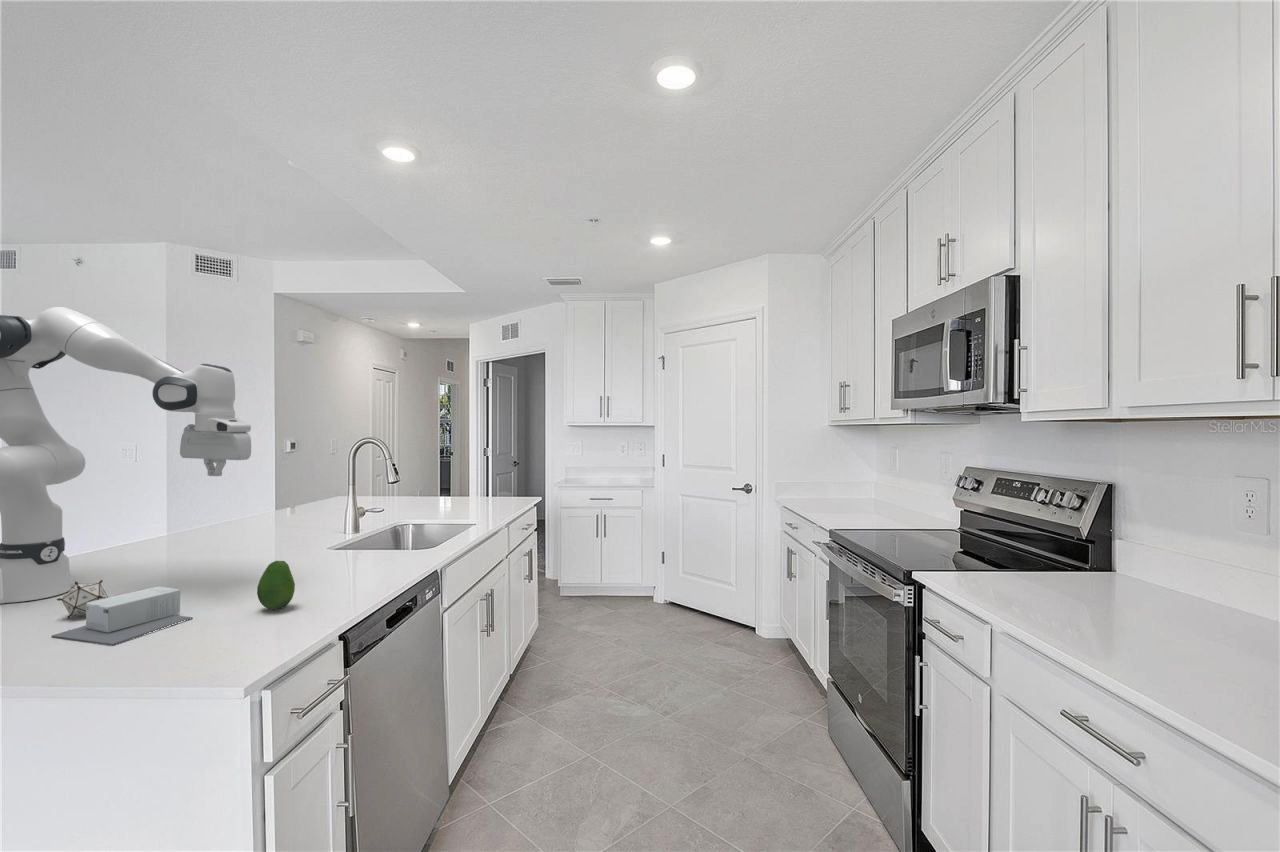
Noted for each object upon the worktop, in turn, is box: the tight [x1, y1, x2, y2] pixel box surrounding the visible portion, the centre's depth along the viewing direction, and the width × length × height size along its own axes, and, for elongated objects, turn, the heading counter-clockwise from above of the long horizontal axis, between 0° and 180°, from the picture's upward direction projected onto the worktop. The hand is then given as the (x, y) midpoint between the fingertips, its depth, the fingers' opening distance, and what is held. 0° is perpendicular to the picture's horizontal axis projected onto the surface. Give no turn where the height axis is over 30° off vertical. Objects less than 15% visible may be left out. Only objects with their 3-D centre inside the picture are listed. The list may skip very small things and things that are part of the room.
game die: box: [56, 579, 109, 619], centre depth 140 cm, size 9×8×10 cm
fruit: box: [256, 560, 296, 611], centre depth 147 cm, size 8×8×12 cm
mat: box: [51, 614, 193, 647], centre depth 133 cm, size 17×17×1 cm
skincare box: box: [85, 585, 181, 633], centre depth 136 cm, size 8×6×15 cm
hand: (214, 476), depth 161 cm, fingers closed
